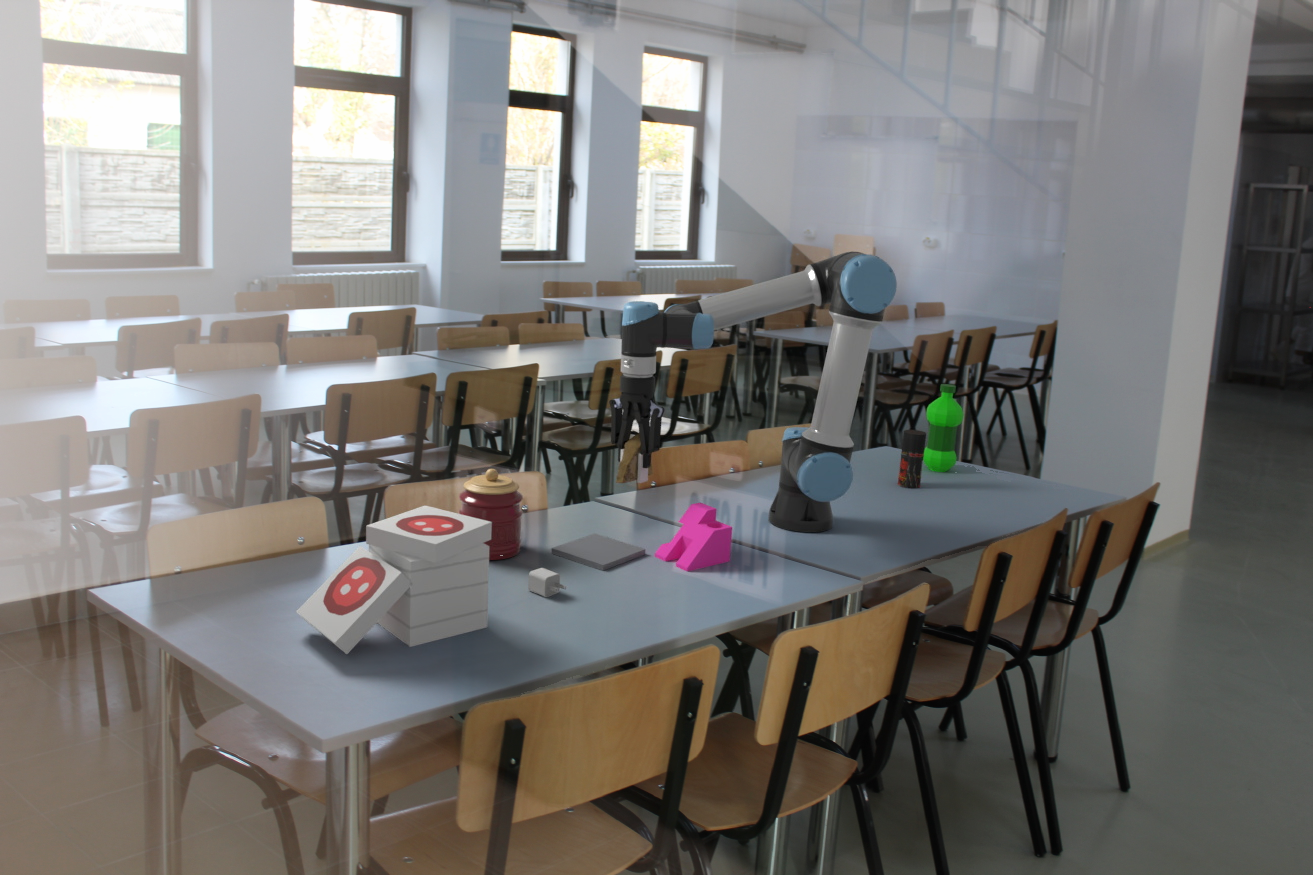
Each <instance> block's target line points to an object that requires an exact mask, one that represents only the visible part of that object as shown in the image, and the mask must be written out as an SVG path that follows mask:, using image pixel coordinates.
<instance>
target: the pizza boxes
mask: <svg viewBox="0 0 1313 875" xmlns="http://www.w3.org/2000/svg"><path fill="white" fill-rule="evenodd" d="M491 529H492V522H490V521H486V520H482V519H478V518H474V517H470V516H466V515H461V514H459V513H458V512H457V513H456V512H452V511H449V510H444V509H441V508H438V507H434V506H429V505H422V506H419V507H416V508H414V509H411V510H408V511H405V512H402V513H399V514H396V515H393V516H391V517H388V518H385V519H382V520H379V521H376V522H373V523H370V524H367V525H366V527H365V530H366V531H365V544H366V545H368V550H367V549H366V548H364V547H363V546H361V545H359V546H358V547H357V549H355V550H354V552H352V553H351V554H350V555H349V557H348V558H347V559H345V561H344V562H343V563H342V564H340V565H339V567H338V568H336V570H335V571H334V572H333V573H332V574H331V575H330V576H329V577H328V578H327V579H326V580H325V581H324V582H323V583H322V584H321V585H320V586H319V587H318V589H316V590H315V591H314V593H313V594H311V596H309V597H308V599H307V600H306V601H304V603H302V605H301V606H299V608H298V609H296V611H295V612H296V613H297V614H298V615H299V617H301V618H302V619H303V620H304V621H306V622H307V623H308V625H310V626H311V627H313V628H314V629H315V630H316V631H317V632H319V633H320V634H321V635H322V636H324V637H325V638H326V639H327V640H329V642H331V643H332V644H334V646H336V647H337V648H338V649H340V650H341V651H342V652H343V653H345V654H346V655H348V654H349V653H350V652H351V651H352V649H354V648H355V646H357V644H358V643H359V642H361V640H362V639H363V638H364V637H365V636H366V634H368V632H369V631H370V630H371V629H372V628H374V626H375V625H376V624H378V625H379V626H380V627H382V628H383V629H384V630H386V631H387V632H389V633H391V634H392V635H393V636H395V638H397V639H398V640H400V641H401V642H403V643H404V644H405V645H406V646H408V647H409V648H411V647H415V646H419V645H422V644H423V645H424V644H426V643H430V642H434V641H438V640H442V639H446V638H447V639H448V638H450V637H451V638H452V637H455V636H459V635H462V634H466V633H469V632H473V631H475V632H476V631H479V630H481V629H487V628H488V616H489V614H488V613H489V609H488V608H489V576H490V575H489V574H490V572H489V571H490V570H489V568H490V560H489V546H488V545H486V544H484V542H486V541H489V540H491Z"/></svg>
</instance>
